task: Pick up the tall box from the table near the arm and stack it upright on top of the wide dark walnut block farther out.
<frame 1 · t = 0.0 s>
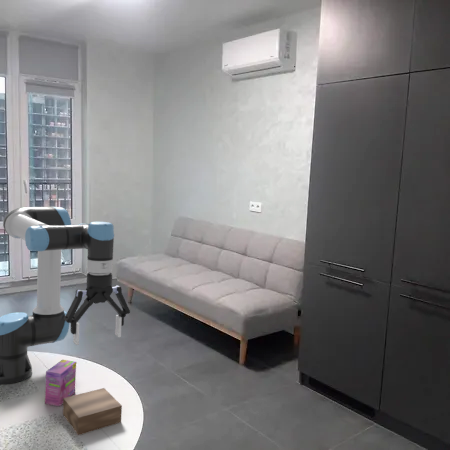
hand: (97, 339, 142), 28 cm above the table, tool pointing down, fingers open, 13 cm apart
box: (60, 398, 160), on the table
walnut block: (91, 419, 148), on the table
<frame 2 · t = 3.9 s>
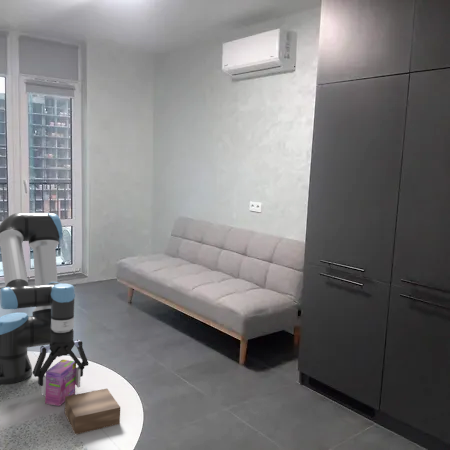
hand: (60, 389, 159), 3 cm above the table, tool pointing down, fingers closed on box, 11 cm apart
box: (60, 398, 160), on the table, touching gripper
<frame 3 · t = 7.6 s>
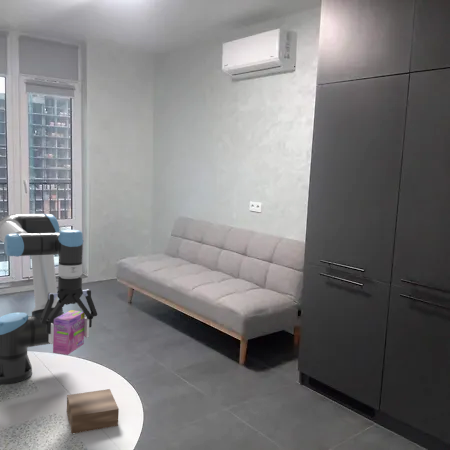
hand: (69, 339, 154), 23 cm above the table, tool pointing down, fingers closed on box, 11 cm apart
box: (68, 349, 155), point 19 cm above the table, touching gripper
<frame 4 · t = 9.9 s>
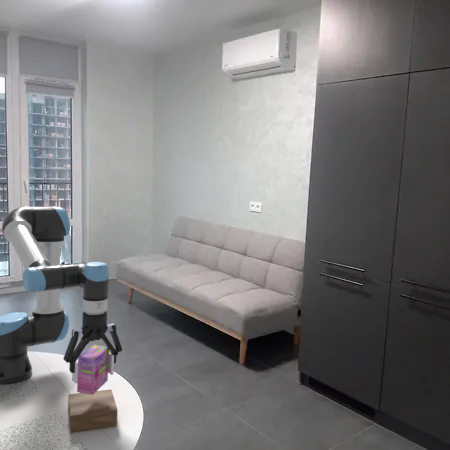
hand: (93, 377, 147), 14 cm above the table, tool pointing down, fingers closed on box, 11 cm apart
box: (92, 387, 147), point 11 cm above the table, touching gripper
when the fingers open (11 cm above the table, at t = 11.5 s): box drops 2 cm, resting on walnut block.
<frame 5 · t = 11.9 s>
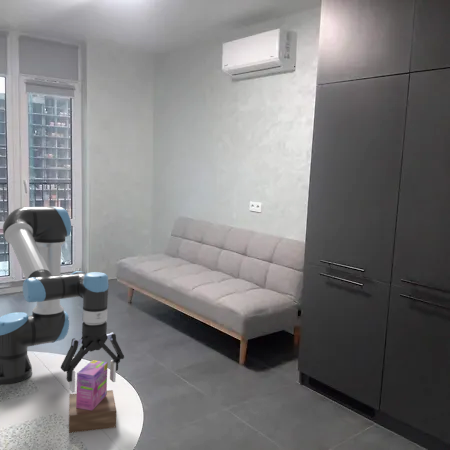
hand: (92, 385, 147), 11 cm above the table, tool pointing down, fingers open, 13 cm apart
box: (92, 402, 148), point 5 cm above the table, touching walnut block
walnut block: (91, 419, 148), on the table, touching box
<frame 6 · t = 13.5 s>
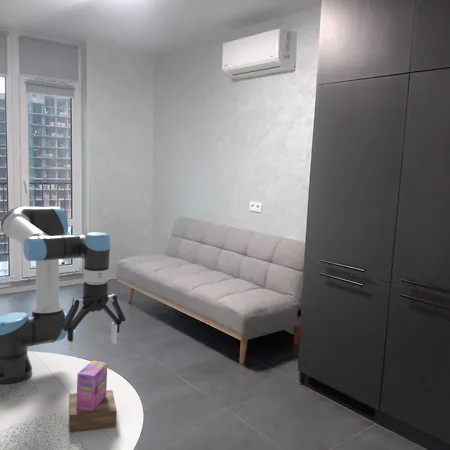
hand: (93, 346, 146), 24 cm above the table, tool pointing down, fingers open, 13 cm apart
nothing on the table moved.
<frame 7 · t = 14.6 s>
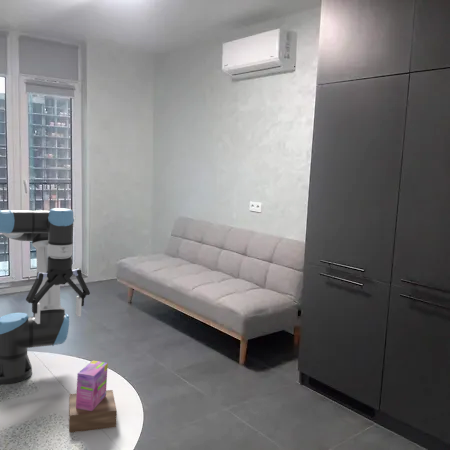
hand: (58, 319, 151), 31 cm above the table, tool pointing down, fingers open, 13 cm apart
nothing on the table moved.
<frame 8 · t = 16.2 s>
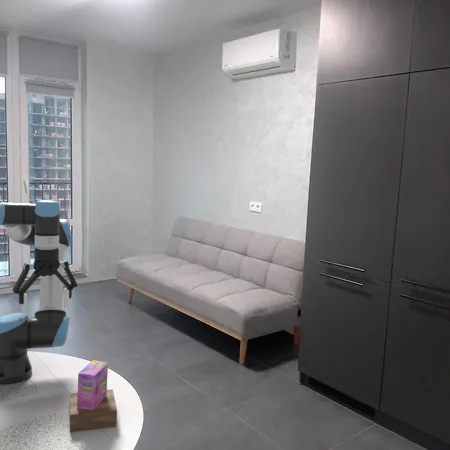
hand: (45, 310, 152), 33 cm above the table, tool pointing down, fingers open, 13 cm apart
nothing on the table moved.
at the end: box inside the target area on the walnut block (0.5 cm from its centre), point 5.8 cm above the walnut block's base; box tilted 0°; the gripper is holding nothing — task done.
